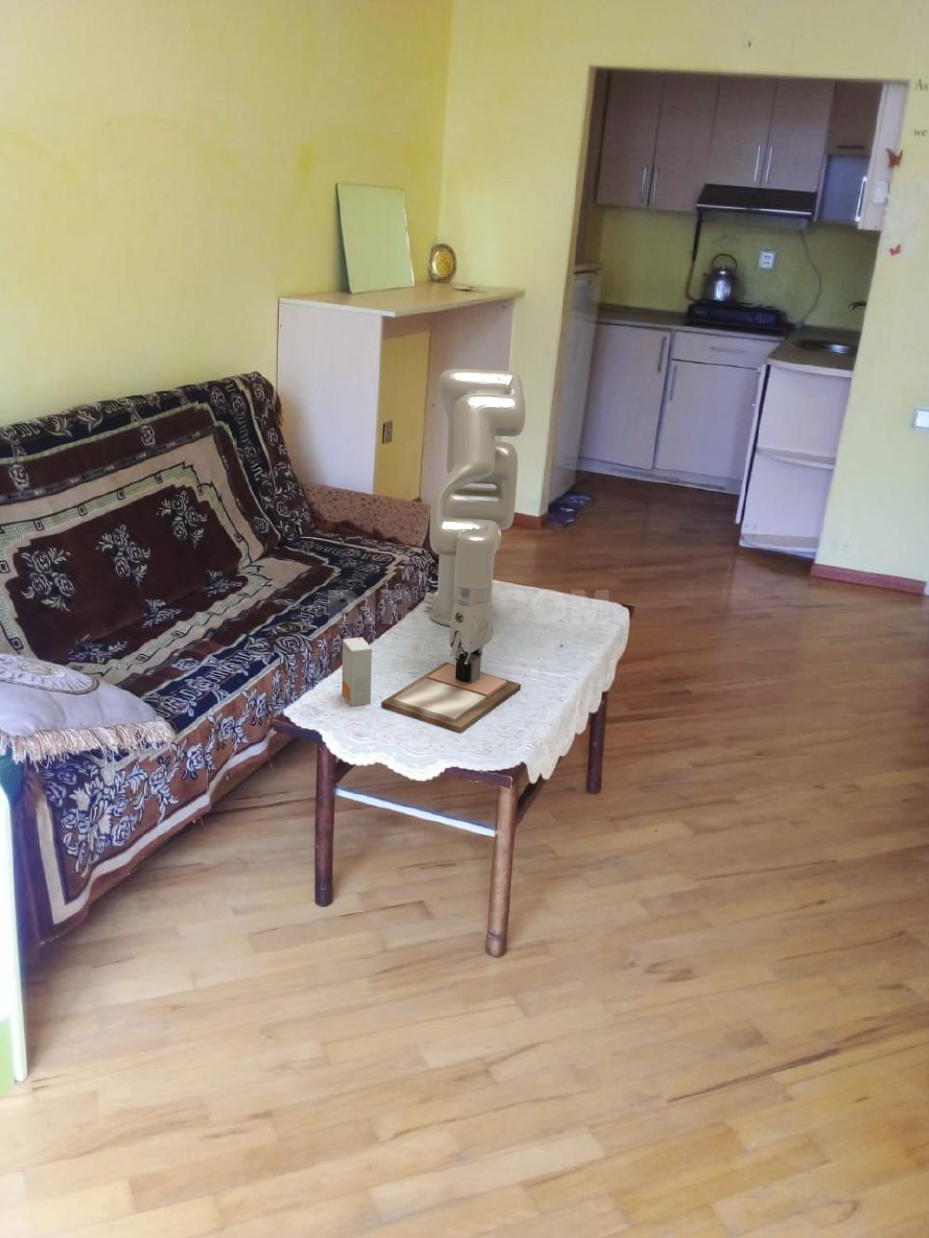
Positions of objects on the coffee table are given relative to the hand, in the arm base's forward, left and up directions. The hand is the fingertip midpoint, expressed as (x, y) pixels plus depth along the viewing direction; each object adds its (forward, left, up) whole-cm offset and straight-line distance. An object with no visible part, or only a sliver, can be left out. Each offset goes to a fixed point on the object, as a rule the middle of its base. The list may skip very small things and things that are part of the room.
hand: (467, 676), depth 224 cm
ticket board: (0, -6, -3) cm, 6 cm away
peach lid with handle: (0, 0, -1) cm, 1 cm away
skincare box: (-15, -18, -3) cm, 23 cm away
